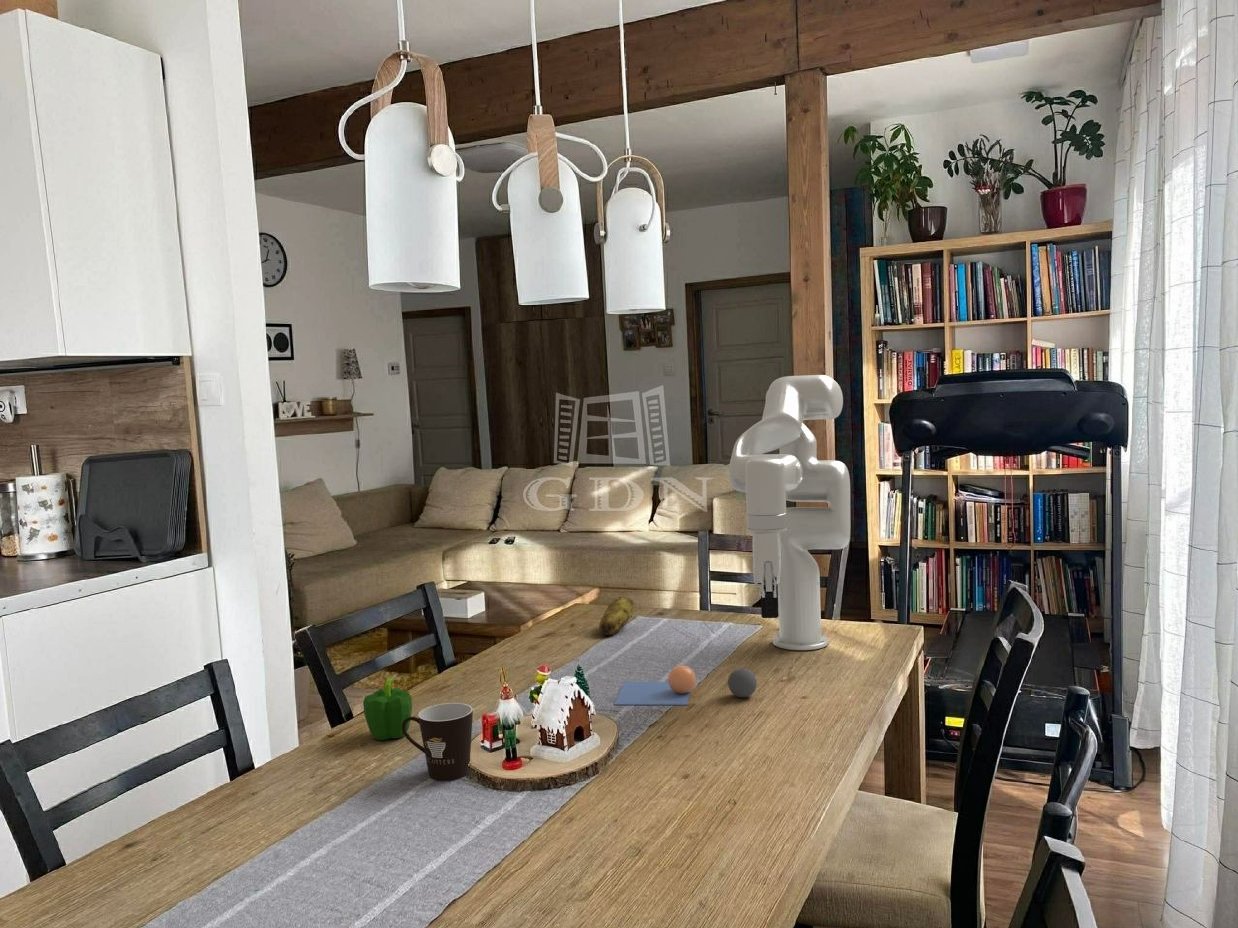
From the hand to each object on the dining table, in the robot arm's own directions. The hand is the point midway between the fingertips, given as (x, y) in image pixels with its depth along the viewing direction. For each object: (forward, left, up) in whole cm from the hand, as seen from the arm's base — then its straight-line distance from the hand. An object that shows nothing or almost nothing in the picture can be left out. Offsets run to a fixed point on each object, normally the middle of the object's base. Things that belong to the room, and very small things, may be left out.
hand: (769, 616), depth 180 cm
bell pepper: (+24, -68, -15) cm, 74 cm away
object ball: (0, -18, -12) cm, 21 cm away
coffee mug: (+39, -53, -15) cm, 68 cm away
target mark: (0, -23, -15) cm, 28 cm away
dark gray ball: (+2, -6, -12) cm, 14 cm away
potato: (-49, -38, -15) cm, 64 cm away
